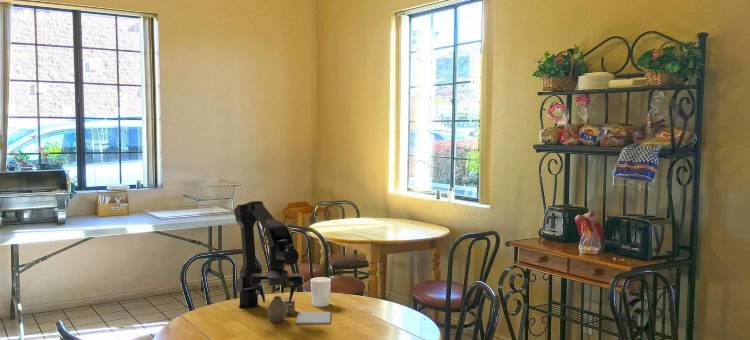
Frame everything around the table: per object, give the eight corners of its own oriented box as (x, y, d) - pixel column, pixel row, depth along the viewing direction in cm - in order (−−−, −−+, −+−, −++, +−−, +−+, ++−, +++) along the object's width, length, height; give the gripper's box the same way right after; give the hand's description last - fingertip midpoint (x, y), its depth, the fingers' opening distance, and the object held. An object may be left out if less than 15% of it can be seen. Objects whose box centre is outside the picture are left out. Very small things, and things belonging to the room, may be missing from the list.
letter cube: (280, 314, 234) (280, 301, 233) (281, 310, 239) (281, 297, 238) (294, 314, 234) (294, 301, 234) (295, 310, 239) (295, 297, 239)
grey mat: (296, 324, 223) (296, 322, 223) (298, 313, 235) (298, 312, 235) (329, 323, 224) (329, 322, 223) (330, 313, 235) (330, 312, 235)
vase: (288, 318, 229) (289, 294, 229) (284, 324, 223) (284, 300, 222) (270, 317, 230) (270, 294, 229) (265, 323, 223) (265, 299, 223)
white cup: (321, 308, 242) (321, 283, 241) (306, 304, 246) (306, 279, 246) (334, 304, 248) (334, 279, 247) (319, 300, 253) (320, 276, 252)
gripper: (247, 264, 216) (247, 309, 217) (302, 265, 217) (301, 309, 219) (252, 257, 227) (252, 300, 228) (303, 257, 228) (303, 299, 230)
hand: (277, 302), depth 226 cm, fingers open, 9 cm apart
